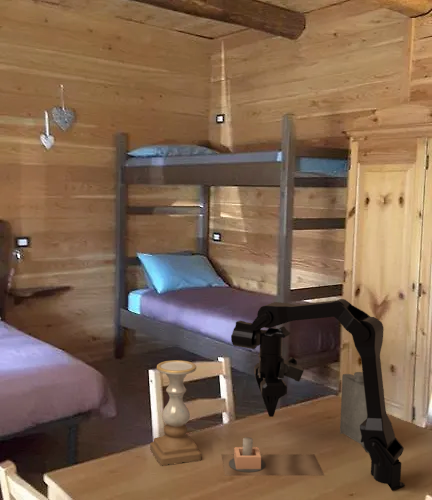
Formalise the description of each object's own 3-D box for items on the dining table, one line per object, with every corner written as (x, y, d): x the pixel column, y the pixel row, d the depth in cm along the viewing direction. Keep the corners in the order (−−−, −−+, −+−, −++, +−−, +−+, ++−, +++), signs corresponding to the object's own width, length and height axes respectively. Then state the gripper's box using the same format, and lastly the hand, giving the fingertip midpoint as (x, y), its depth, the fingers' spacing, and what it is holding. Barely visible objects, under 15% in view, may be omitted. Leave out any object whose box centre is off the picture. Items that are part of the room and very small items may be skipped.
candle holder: (149, 449, 176) (150, 361, 173) (188, 444, 180) (190, 358, 177) (160, 466, 166) (161, 373, 163) (202, 460, 170) (203, 369, 167)
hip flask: (383, 453, 176) (386, 380, 174) (370, 456, 174) (374, 382, 172) (346, 432, 190) (349, 364, 188) (335, 434, 189) (337, 366, 187)
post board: (314, 459, 171) (315, 430, 171) (324, 481, 160) (325, 449, 159) (221, 460, 170) (222, 429, 169) (224, 481, 158) (225, 449, 157)
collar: (257, 458, 167) (258, 447, 167) (260, 469, 161) (261, 457, 161) (234, 458, 167) (234, 447, 167) (236, 469, 161) (236, 457, 161)
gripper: (308, 361, 162) (306, 423, 164) (295, 342, 181) (293, 398, 183) (263, 361, 162) (261, 423, 163) (254, 342, 180) (253, 398, 182)
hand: (268, 410), depth 173 cm, fingers open, 9 cm apart
